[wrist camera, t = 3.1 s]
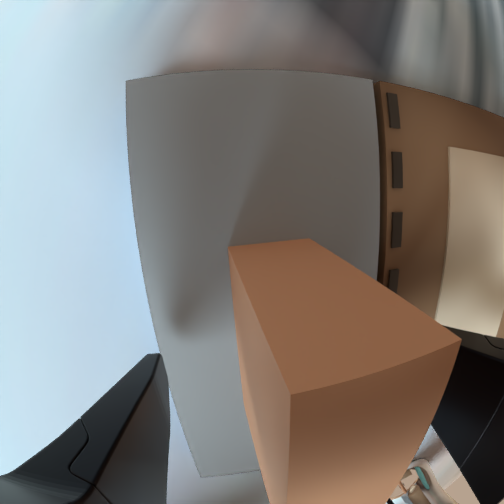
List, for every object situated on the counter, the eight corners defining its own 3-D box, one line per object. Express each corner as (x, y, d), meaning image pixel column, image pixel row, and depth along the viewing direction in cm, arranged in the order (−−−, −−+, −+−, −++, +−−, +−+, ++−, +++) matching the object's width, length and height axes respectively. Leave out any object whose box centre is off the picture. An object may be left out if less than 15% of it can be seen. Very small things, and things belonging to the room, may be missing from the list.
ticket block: (475, 369, 15) (488, 381, 14) (342, 427, 14) (353, 447, 12) (508, 128, 11) (528, 128, 9) (357, 90, 9) (381, 80, 8)
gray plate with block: (337, 429, 14) (397, 535, 6) (198, 455, 12) (214, 582, 5) (350, 89, 9) (527, 29, 2) (135, 93, 8) (25, -47, 1)
